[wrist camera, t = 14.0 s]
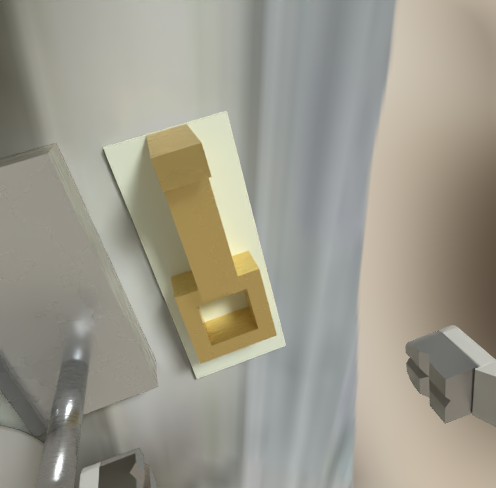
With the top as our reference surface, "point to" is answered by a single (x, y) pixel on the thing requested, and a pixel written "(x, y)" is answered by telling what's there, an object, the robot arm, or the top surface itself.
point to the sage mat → (167, 237)
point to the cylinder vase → (19, 458)
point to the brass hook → (207, 251)
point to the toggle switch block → (61, 312)
